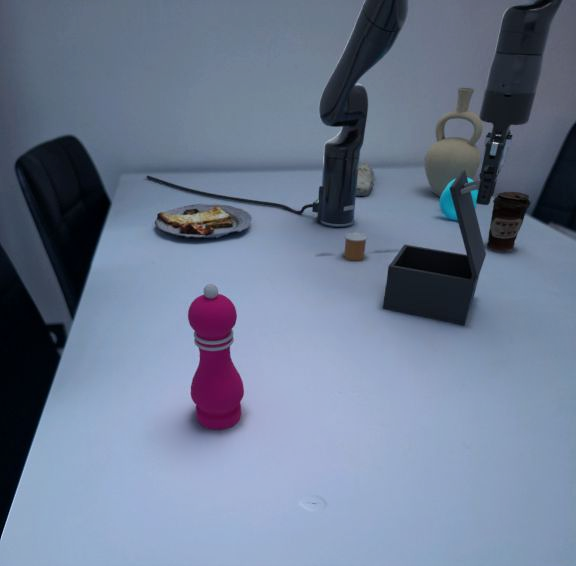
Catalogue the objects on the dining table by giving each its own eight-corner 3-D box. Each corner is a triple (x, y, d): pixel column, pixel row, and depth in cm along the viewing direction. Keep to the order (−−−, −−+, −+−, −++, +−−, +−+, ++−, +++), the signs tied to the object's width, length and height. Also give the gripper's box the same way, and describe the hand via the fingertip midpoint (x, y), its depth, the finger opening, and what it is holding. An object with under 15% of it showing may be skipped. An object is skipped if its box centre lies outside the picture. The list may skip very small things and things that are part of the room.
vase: (478, 193, 173) (502, 88, 156) (463, 205, 161) (486, 93, 144) (429, 185, 180) (447, 84, 163) (411, 196, 169) (427, 88, 151)
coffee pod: (340, 258, 124) (341, 237, 121) (346, 251, 128) (348, 231, 125) (361, 262, 122) (363, 241, 120) (367, 255, 126) (370, 234, 123)
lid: (449, 187, 87) (482, 176, 84) (460, 171, 97) (491, 161, 94) (473, 279, 93) (505, 272, 91) (481, 255, 103) (510, 248, 100)
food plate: (171, 249, 127) (169, 234, 125) (145, 220, 143) (143, 207, 141) (265, 234, 136) (265, 220, 134) (231, 209, 153) (230, 196, 151)
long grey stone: (342, 200, 167) (373, 203, 167) (344, 183, 164) (376, 186, 164) (344, 167, 195) (371, 170, 194) (346, 152, 191) (373, 155, 191)
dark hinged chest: (382, 308, 103) (388, 266, 98) (398, 284, 113) (404, 244, 108) (464, 325, 99) (475, 281, 93) (473, 298, 108) (483, 257, 103)
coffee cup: (520, 256, 128) (535, 201, 121) (484, 252, 129) (497, 198, 122) (514, 243, 135) (529, 191, 128) (481, 240, 136) (493, 188, 129)
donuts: (435, 218, 150) (442, 182, 144) (441, 209, 158) (447, 174, 152) (472, 224, 147) (480, 186, 141) (475, 214, 155) (483, 178, 149)
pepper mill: (194, 401, 78) (182, 272, 66) (244, 399, 78) (240, 272, 67) (191, 433, 72) (177, 298, 60) (245, 431, 72) (241, 297, 61)
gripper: (490, 82, 89) (467, 187, 98) (480, 90, 78) (455, 207, 88) (538, 85, 86) (510, 192, 96) (534, 94, 75) (503, 214, 85)
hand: (484, 199), depth 92 cm, fingers closed on lid, 5 cm apart
